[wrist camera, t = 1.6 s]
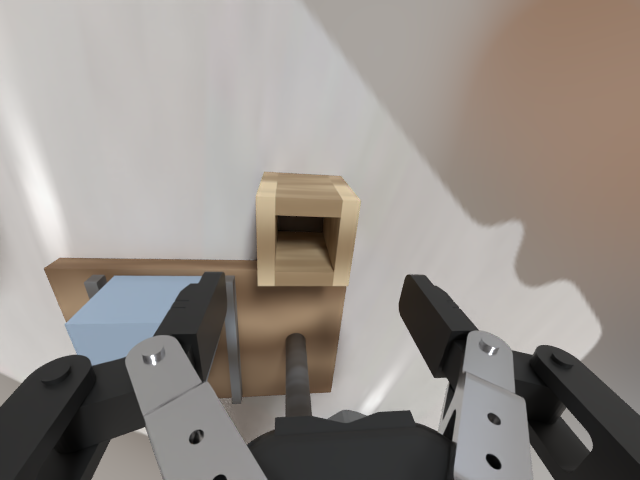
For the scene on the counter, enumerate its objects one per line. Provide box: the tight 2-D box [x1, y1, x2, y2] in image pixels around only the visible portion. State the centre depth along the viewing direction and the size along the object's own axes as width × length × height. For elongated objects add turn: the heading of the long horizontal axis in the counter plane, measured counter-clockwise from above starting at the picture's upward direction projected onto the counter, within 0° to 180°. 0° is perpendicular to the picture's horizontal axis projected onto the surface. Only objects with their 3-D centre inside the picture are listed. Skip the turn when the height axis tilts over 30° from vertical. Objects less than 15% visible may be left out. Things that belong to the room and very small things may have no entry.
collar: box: [256, 172, 361, 286], centre depth 18 cm, size 6×6×6 cm
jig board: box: [44, 258, 346, 417], centre depth 21 cm, size 15×22×8 cm
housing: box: [65, 276, 220, 381], centre depth 19 cm, size 6×7×5 cm
